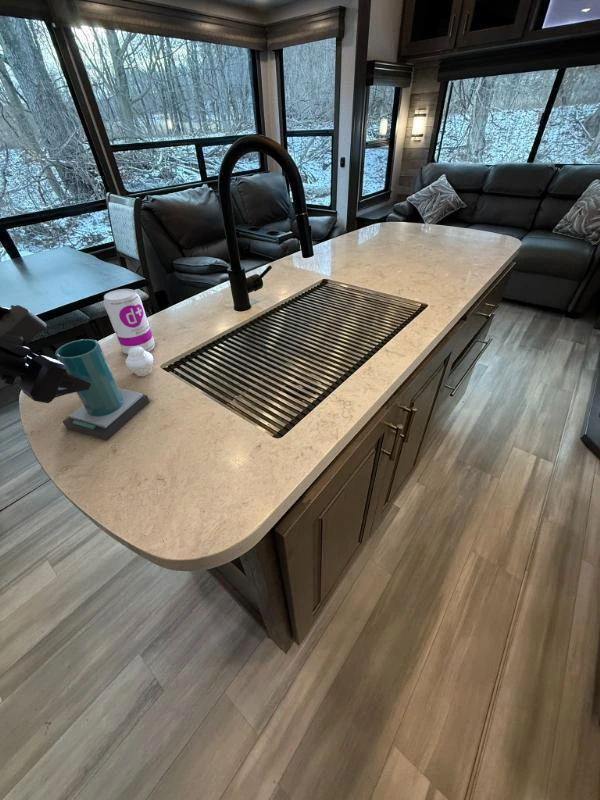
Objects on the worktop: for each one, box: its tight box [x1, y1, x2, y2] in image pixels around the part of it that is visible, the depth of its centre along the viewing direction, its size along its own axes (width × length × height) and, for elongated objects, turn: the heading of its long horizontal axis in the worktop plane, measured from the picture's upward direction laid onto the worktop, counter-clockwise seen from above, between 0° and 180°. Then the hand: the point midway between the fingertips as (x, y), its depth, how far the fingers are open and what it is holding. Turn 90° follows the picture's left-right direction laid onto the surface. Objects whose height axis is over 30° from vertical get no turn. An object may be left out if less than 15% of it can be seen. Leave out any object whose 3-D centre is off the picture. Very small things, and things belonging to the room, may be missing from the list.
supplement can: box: [103, 288, 156, 355], centre depth 84 cm, size 8×8×15 cm
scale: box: [62, 387, 151, 441], centre depth 67 cm, size 12×10×3 cm
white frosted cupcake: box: [124, 346, 154, 377], centre depth 78 cm, size 6×6×7 cm
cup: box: [54, 338, 123, 416], centre depth 62 cm, size 7×7×13 cm
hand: (75, 378), depth 59 cm, fingers open, 9 cm apart
